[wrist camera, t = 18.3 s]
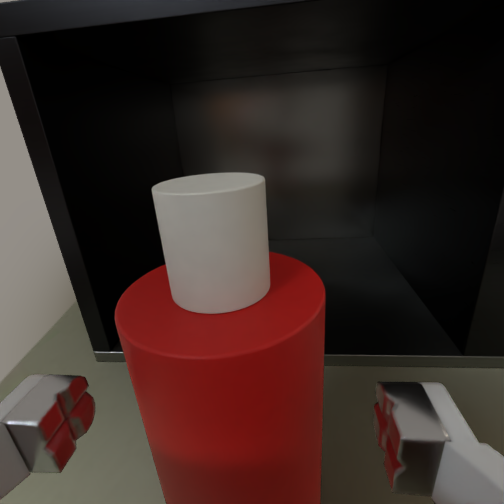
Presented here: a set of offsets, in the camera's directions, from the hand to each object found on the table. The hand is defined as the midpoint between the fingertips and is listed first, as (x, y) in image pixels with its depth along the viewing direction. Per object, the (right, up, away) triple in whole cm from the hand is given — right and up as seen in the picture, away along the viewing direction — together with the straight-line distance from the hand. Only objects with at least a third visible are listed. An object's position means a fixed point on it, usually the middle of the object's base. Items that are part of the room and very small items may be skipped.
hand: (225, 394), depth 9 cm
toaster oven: (+7, 0, +27) cm, 28 cm away
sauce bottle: (+1, -9, +5) cm, 10 cm away
